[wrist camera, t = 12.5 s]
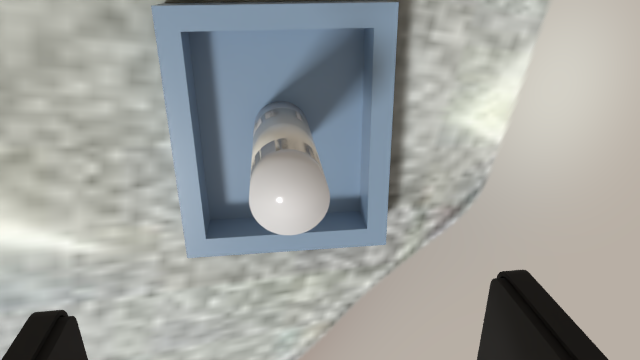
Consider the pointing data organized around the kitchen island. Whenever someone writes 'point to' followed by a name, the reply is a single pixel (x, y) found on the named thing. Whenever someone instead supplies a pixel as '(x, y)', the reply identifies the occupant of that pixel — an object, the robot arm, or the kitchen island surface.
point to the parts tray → (270, 86)
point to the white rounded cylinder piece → (286, 172)
